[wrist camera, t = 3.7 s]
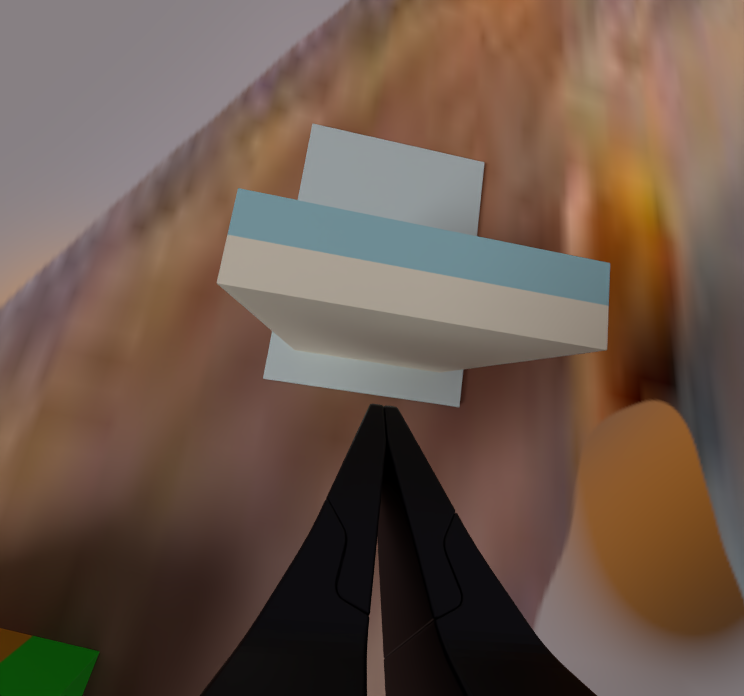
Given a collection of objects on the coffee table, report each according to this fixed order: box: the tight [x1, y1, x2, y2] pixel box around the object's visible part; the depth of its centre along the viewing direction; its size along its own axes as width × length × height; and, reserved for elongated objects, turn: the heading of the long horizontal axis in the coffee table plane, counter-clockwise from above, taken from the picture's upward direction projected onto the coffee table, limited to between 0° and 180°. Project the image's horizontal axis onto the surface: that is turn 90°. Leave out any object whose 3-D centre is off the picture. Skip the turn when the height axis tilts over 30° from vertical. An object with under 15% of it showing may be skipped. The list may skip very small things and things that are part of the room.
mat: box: [263, 124, 484, 407], centre depth 20 cm, size 17×12×1 cm
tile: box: [217, 188, 610, 373], centre depth 13 cm, size 2×9×12 cm, turn 81°
